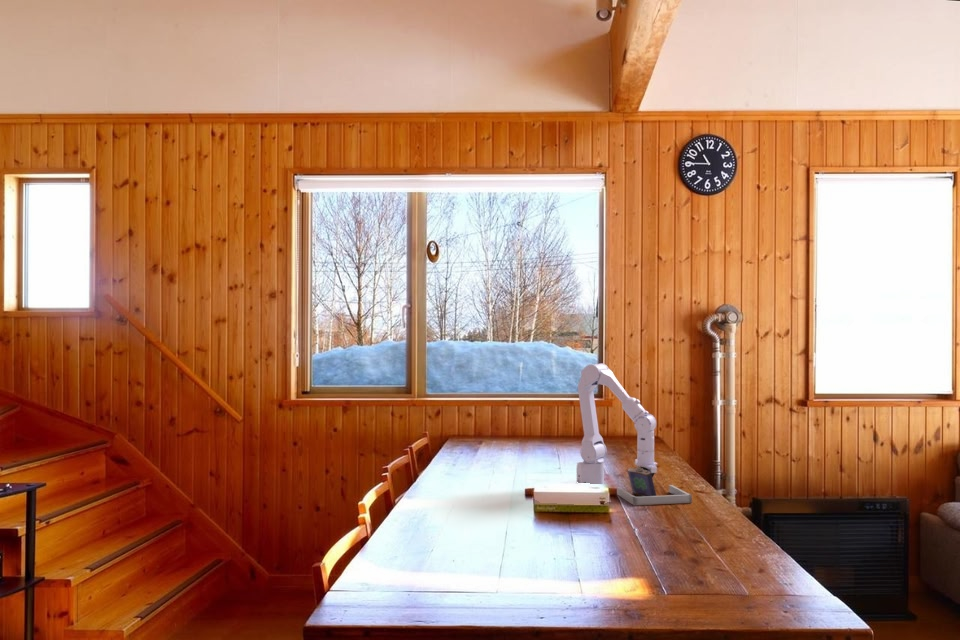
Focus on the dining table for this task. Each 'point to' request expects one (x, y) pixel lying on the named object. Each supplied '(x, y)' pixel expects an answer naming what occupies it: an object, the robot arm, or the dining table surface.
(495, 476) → the dining table surface
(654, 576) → the dining table surface
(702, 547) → the dining table surface
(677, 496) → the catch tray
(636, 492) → the flask
